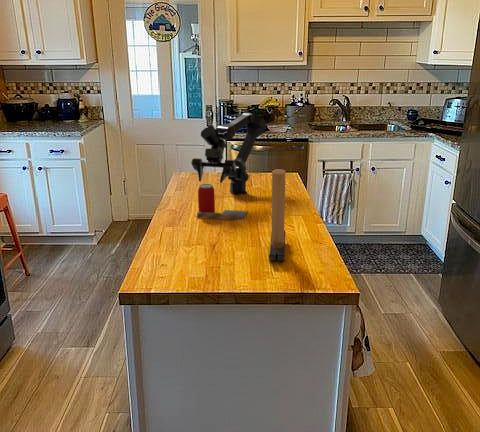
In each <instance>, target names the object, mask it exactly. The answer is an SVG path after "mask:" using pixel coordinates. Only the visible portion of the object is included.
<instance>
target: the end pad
mask: <svg viewBox="0 0 480 432" xmlns="http://www.w3.org/2000/svg"><path fill="white" fill-rule="evenodd" d="M248 212H249V211H247V210H234V209H224V210H223V212H222V213H224V214H236V220H237V219H238V220H244V218H245V217H246V216H247V214H248Z"/></svg>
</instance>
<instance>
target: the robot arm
mask: <svg viewBox="0 0 480 432" xmlns="http://www.w3.org/2000/svg"><path fill="white" fill-rule="evenodd" d="M245 126H246V132H247V133H246V136H245V138H244V140H243V141H242V144H241V147H240V148H239V151H238V153H237V155H236V158H234V159H225V160H224V162H222V160H223V159H224V152H225V151H224V150H225V149H227V147H228V145H227V143H226V142H225V141H230V140H232V139H233V138H234V137H235V135H236V133H237V132H238V131H239V130H241V129H243V128H244V127H245ZM266 127H267V123H266V121H265V119H264V118H261V117H259V116H257V115H255V114H254V113H252V112H243V113H242V114H241V115H239V116H238V117H237V118H235V119H234V120H232V121H231V122H229V123H226V124H220V125H218V126H216V128H215V127H214V125H211V124H209V125H208V126H206V127H205V128H203V129H202V130H201V132H200V137H201V138H202V139H203V141H204V142H206V144H207V145H209V146H210V148H209V147H208V148H205V152H204V157H205V159H206V161H203V159H202V158H196V157H195V158H192V160H191V163H190V164H191V166H192V167H193V169H194V170H195V171H196V172H197V175H198V182H199V183H201V182H202V178H203V174H204V169H205V168H206V167H207V168H208V167H211V168H222V172H221V175H220V180H219V183H220V184H222V183H223V182H224V181H225V179H226V178H227V179H228V180H230V183H229V185H230V188H229V192H230V193H232V194H234V195H242V194H247V193H248V191H246V189H247V187H246V186H247V185H246V183H247V182H248V181H249V178H250V175H249V174H248V172H247V164H246V163H247V160H248V158H249V156H250V154H251V151H252V149H253V147H254V145H255V143H256V140H257V139H258V138H259V137H260V135H262V134H263V133H264V131H265V130H266ZM204 167H205V168H204Z"/></svg>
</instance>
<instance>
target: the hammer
mask: <svg viewBox="0 0 480 432" xmlns="http://www.w3.org/2000/svg"><path fill="white" fill-rule="evenodd" d="M286 172H287V171H286V170H284V169H282V168H281V169H280V168H276V169H274V170H272V171H271V232H270V245H269V246H270V247H269V254H268V260H269V261H270V262H271V261H275V262H276V260H277V261H278V262H285V250H286V229H285V219H286V218H285V217H286V216H285V212H286V209H285V207H286V175H287V174H286Z"/></svg>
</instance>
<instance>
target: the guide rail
mask: <svg viewBox="0 0 480 432" xmlns="http://www.w3.org/2000/svg"><path fill="white" fill-rule="evenodd" d="M196 217H197V218H199V219H201V218H202V219H213V220H227V221H236V220H237V219H236V214H224V213H223V212H221V213H220V212H214V213H209V212H199V211H197V214H196Z"/></svg>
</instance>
